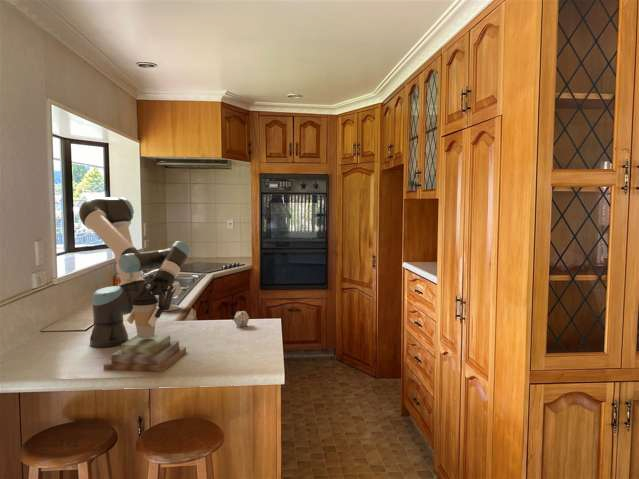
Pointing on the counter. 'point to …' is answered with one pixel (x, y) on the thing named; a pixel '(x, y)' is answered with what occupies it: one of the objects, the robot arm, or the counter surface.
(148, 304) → the coffee cup
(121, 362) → the tower base
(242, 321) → the game die
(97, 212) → the robot arm
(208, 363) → the counter surface
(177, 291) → the chalice
